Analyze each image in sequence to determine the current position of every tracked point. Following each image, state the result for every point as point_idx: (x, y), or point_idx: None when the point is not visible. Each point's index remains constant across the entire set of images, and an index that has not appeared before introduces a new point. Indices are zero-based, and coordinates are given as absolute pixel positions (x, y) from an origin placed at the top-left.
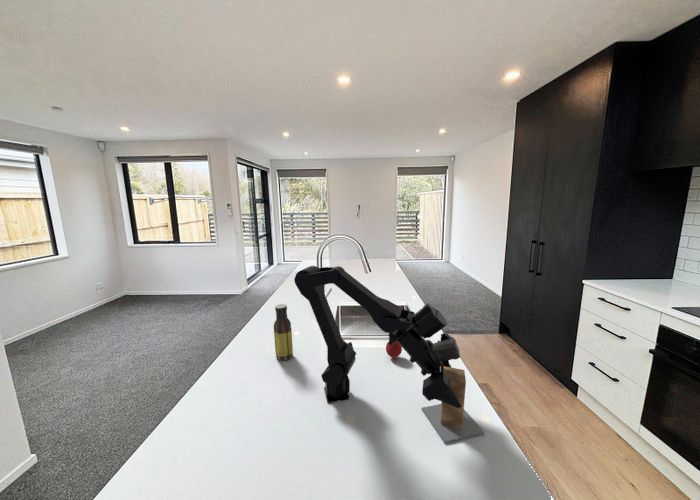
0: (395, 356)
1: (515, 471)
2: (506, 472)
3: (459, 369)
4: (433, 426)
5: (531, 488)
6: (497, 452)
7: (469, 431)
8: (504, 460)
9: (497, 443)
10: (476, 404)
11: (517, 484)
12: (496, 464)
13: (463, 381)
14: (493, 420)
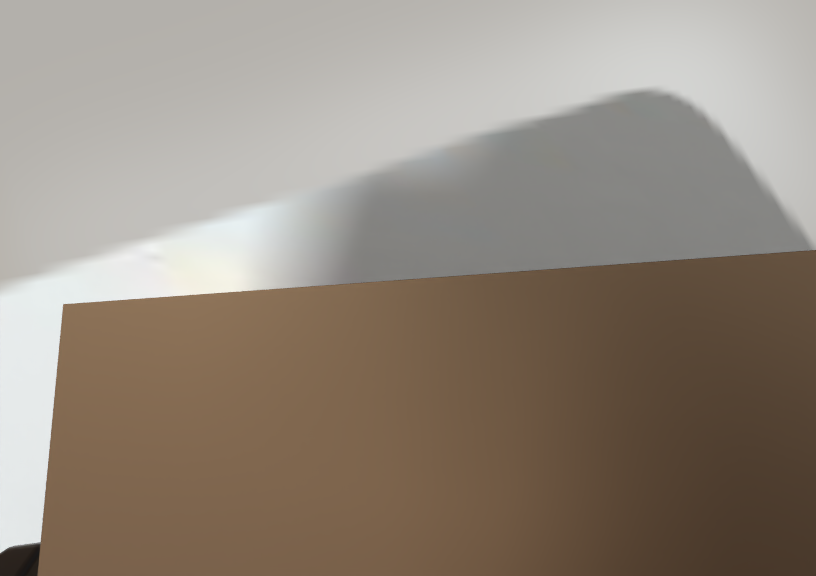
0: None
1: (618, 160)
2: (656, 204)
3: (96, 540)
4: None
5: (676, 109)
6: (533, 235)
7: None
8: (574, 203)
9: (452, 227)
10: (26, 358)
11: (697, 164)
12: (634, 249)
13: None
14: (213, 232)
